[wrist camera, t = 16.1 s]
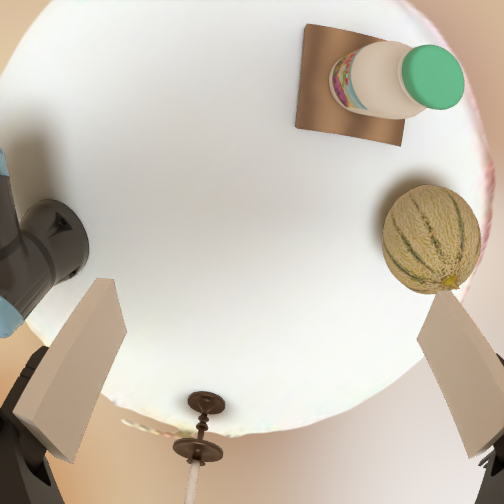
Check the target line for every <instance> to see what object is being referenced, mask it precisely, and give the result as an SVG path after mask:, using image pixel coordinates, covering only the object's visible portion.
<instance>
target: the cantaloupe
mask: <svg viewBox="0 0 504 504" xmlns="http://www.w3.org/2000/svg"><path fill="white" fill-rule="evenodd" d="M382 247H383V254H384V258H385V261H386V264H387V266H388V268H389V270H390V271H391V273H392V274H393V275H394V276H395V277H396V278H397V279H398V280H399V281H400V282H401V283H402V284H404V285H405V286H406V287H407V288H409V289H410V290H412V291H415V292H417V293H421V294H436V293H437V291H450V290H453V289H460V288H459V285H461V284H462V283H463V282H465V281H466V280H467V278H468V277H469V276H470V274H471V273H472V271H473V269H474V267H475V265H476V263H477V261H478V258H479V256H480V250H481V233H480V228H479V224H478V221H477V219H476V217H475V215H474V213H473V211H472V209H471V208H470V206H469V205H468V204H467V202H466V201H465V200H464V199H463V198H462V197H460V196H459V195H458V194H457V193H455V192H453V191H452V190H449V189H446V188H443V187H439V186H433V185H422V186H417V187H415V188H413V189H411V190H410V191H408V192H406V193H404V194H403V195H402V196H400V197H399V198H398V199H397V201H395V203H394V205H393V207H392V208H391V209H390V211H389V212H388V215H387V217H386V219H385V224H384V229H383V234H382Z"/></svg>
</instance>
